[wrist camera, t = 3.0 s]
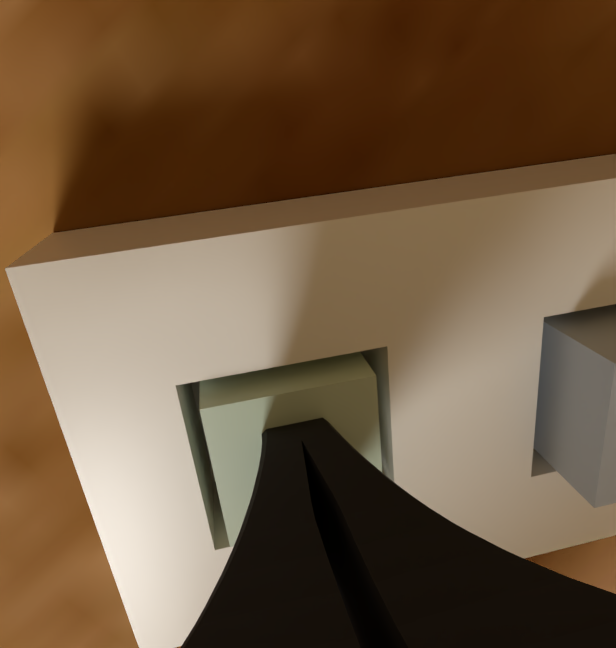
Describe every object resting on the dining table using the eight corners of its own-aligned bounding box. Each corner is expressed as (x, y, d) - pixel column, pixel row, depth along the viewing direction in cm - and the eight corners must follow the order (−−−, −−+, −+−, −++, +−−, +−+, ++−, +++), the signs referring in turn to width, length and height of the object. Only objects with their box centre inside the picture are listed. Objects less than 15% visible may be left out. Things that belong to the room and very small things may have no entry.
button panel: (844, 400, 19) (954, 448, 16) (152, 560, 15) (142, 655, 13) (948, 106, 15) (1118, 103, 12) (51, 232, 11) (5, 268, 9)
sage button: (352, 441, 14) (384, 511, 12) (224, 468, 14) (229, 547, 11) (341, 325, 13) (376, 375, 10) (199, 350, 12) (199, 409, 10)
